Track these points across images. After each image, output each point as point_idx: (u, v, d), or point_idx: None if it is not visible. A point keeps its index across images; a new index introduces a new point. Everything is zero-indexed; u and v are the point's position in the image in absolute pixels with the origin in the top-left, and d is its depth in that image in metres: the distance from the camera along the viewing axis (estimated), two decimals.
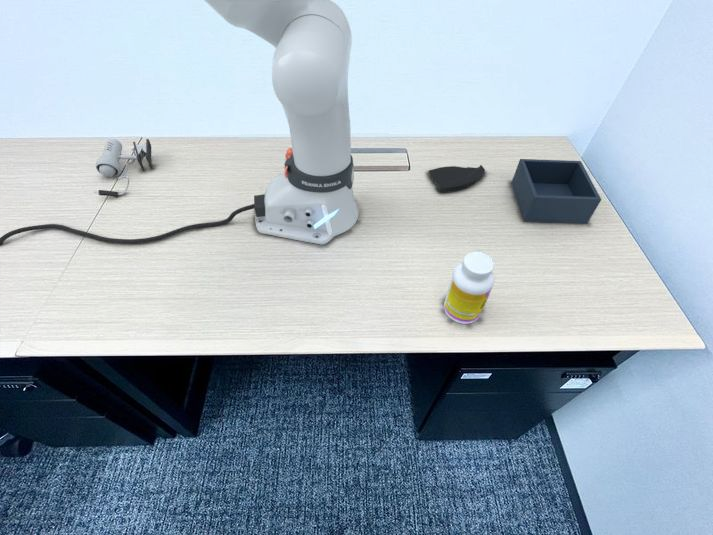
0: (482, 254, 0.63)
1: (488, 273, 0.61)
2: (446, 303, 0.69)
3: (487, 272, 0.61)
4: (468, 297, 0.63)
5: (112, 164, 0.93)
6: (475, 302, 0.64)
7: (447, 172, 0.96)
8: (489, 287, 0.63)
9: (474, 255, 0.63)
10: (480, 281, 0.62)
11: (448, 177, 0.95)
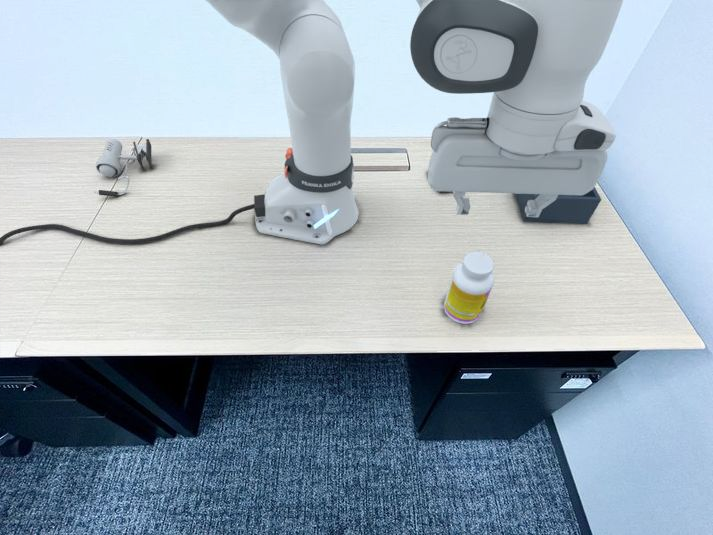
0: (482, 254, 0.63)
1: (488, 273, 0.61)
2: (446, 303, 0.69)
3: (487, 272, 0.61)
4: (468, 297, 0.63)
5: (112, 164, 0.93)
6: (475, 302, 0.64)
7: None
8: (489, 287, 0.63)
9: (474, 255, 0.63)
10: (480, 281, 0.62)
11: None
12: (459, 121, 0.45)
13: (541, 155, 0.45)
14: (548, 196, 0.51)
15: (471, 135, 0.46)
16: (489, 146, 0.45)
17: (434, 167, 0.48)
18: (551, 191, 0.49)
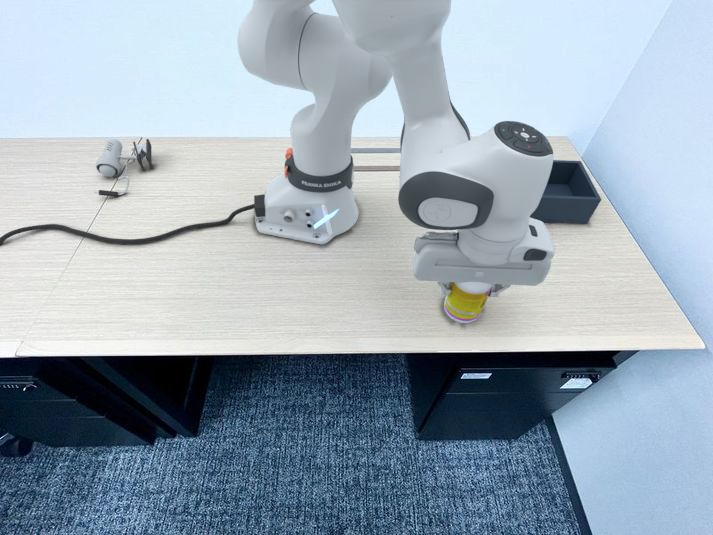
0: None
1: None
2: (446, 303, 0.69)
3: None
4: (468, 296, 0.64)
5: (112, 164, 0.93)
6: (475, 301, 0.64)
7: None
8: (489, 286, 0.63)
9: None
10: None
11: None
12: (436, 235, 0.57)
13: None
14: (503, 284, 0.64)
15: (445, 244, 0.58)
16: (459, 253, 0.58)
17: (417, 265, 0.60)
18: (510, 283, 0.62)
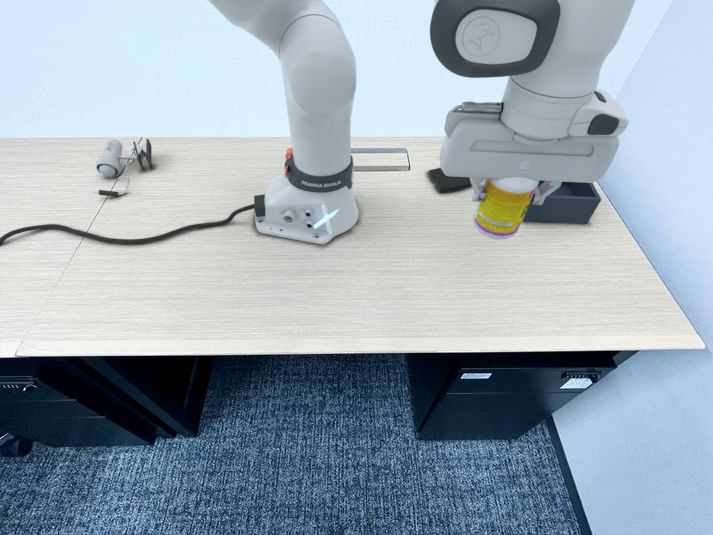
0: None
1: None
2: (477, 215, 0.57)
3: None
4: (508, 197, 0.51)
5: (112, 164, 0.93)
6: (516, 205, 0.52)
7: None
8: (535, 183, 0.51)
9: None
10: None
11: (448, 177, 0.95)
12: (474, 105, 0.45)
13: (554, 140, 0.45)
14: (552, 183, 0.51)
15: (485, 119, 0.46)
16: (503, 130, 0.46)
17: (447, 151, 0.48)
18: (562, 178, 0.50)
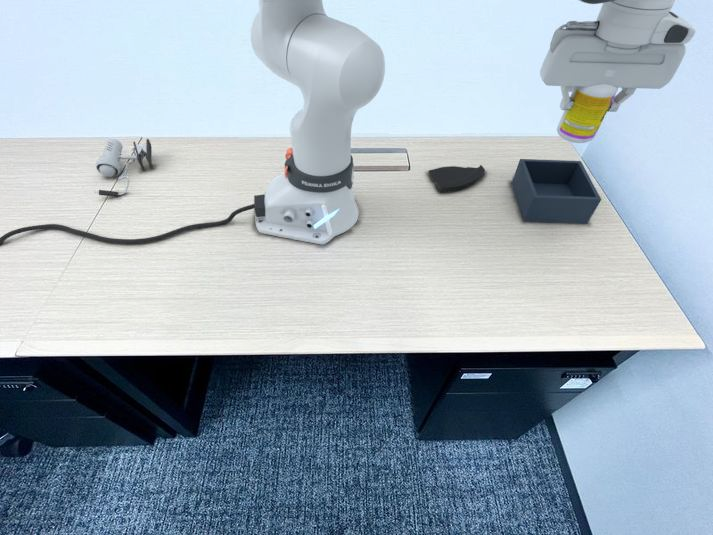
0: None
1: None
2: (562, 124, 0.73)
3: None
4: (594, 102, 0.67)
5: (112, 164, 0.94)
6: (599, 109, 0.67)
7: (447, 172, 0.96)
8: (615, 90, 0.66)
9: None
10: None
11: (448, 177, 0.95)
12: (577, 23, 0.60)
13: (637, 49, 0.60)
14: (628, 91, 0.67)
15: (583, 35, 0.61)
16: (598, 43, 0.61)
17: (551, 63, 0.64)
18: (637, 84, 0.65)
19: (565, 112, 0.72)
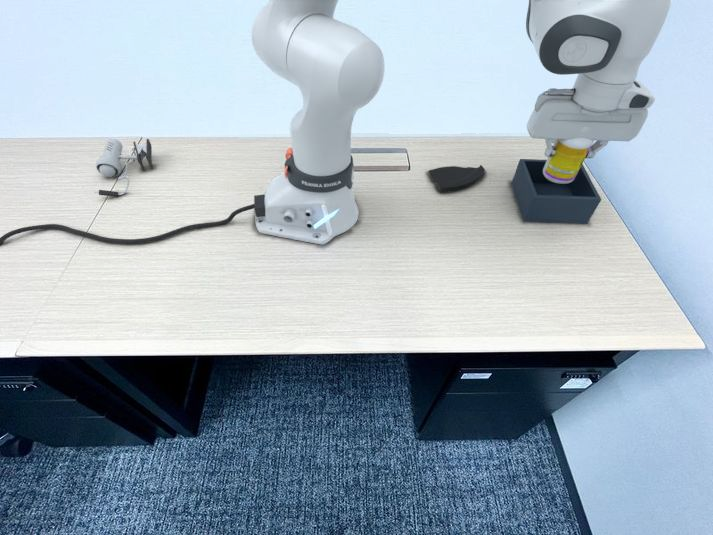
0: None
1: None
2: (547, 167, 0.84)
3: None
4: (573, 152, 0.78)
5: (112, 164, 0.94)
6: (578, 157, 0.79)
7: (447, 172, 0.96)
8: (591, 142, 0.77)
9: None
10: None
11: (448, 177, 0.95)
12: (557, 90, 0.72)
13: (607, 112, 0.72)
14: (601, 142, 0.78)
15: (562, 99, 0.72)
16: (574, 106, 0.72)
17: (536, 121, 0.75)
18: (609, 138, 0.76)
19: (549, 158, 0.83)
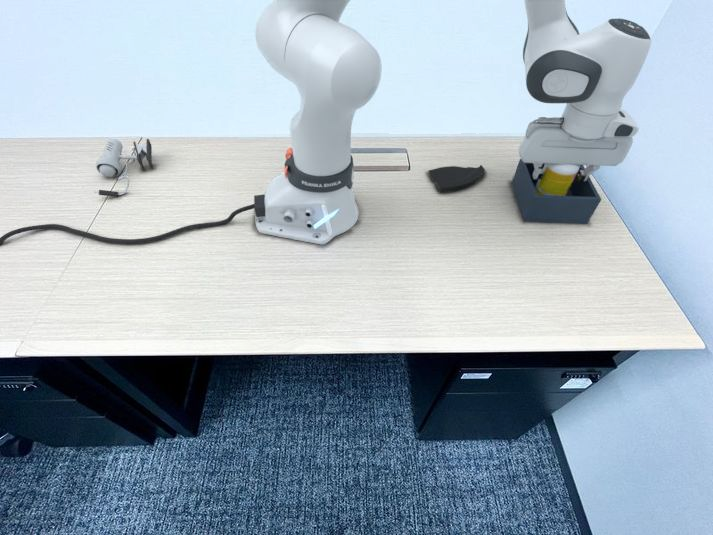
0: None
1: None
2: (537, 190, 0.88)
3: None
4: (560, 177, 0.83)
5: (112, 164, 0.94)
6: (565, 183, 0.83)
7: (447, 172, 0.96)
8: (577, 169, 0.82)
9: None
10: None
11: (448, 177, 0.95)
12: (546, 119, 0.76)
13: (594, 140, 0.76)
14: (594, 167, 0.82)
15: (551, 127, 0.76)
16: (563, 134, 0.76)
17: (527, 147, 0.79)
18: (596, 163, 0.80)
19: (538, 182, 0.88)
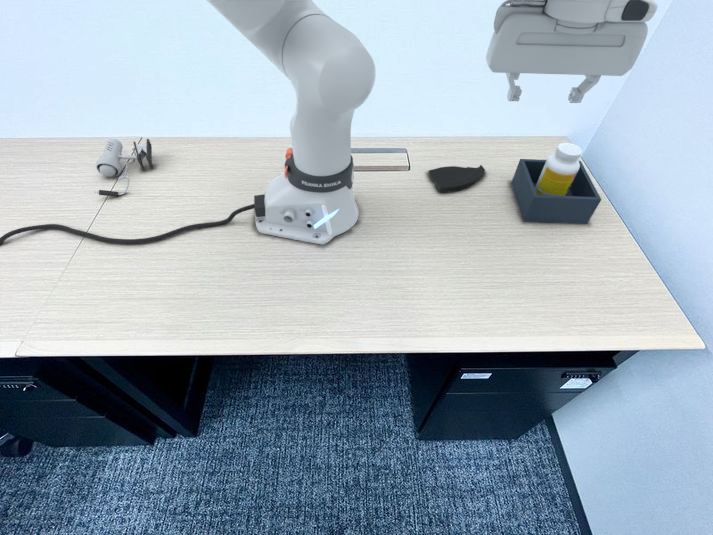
0: (571, 144, 0.82)
1: (578, 155, 0.80)
2: (537, 190, 0.88)
3: (578, 154, 0.80)
4: (560, 177, 0.83)
5: (112, 164, 0.94)
6: (565, 183, 0.83)
7: (447, 172, 0.96)
8: (577, 169, 0.82)
9: (565, 144, 0.82)
10: (571, 163, 0.81)
11: (448, 177, 0.95)
12: None
13: (591, 29, 0.52)
14: (591, 78, 0.58)
15: (530, 13, 0.53)
16: (547, 21, 0.52)
17: (496, 46, 0.55)
18: (595, 71, 0.57)
19: (538, 182, 0.88)
